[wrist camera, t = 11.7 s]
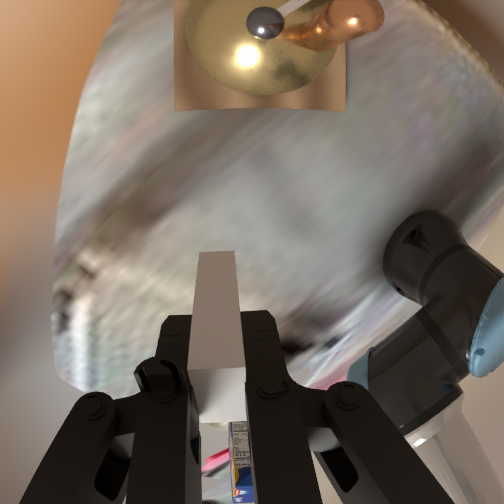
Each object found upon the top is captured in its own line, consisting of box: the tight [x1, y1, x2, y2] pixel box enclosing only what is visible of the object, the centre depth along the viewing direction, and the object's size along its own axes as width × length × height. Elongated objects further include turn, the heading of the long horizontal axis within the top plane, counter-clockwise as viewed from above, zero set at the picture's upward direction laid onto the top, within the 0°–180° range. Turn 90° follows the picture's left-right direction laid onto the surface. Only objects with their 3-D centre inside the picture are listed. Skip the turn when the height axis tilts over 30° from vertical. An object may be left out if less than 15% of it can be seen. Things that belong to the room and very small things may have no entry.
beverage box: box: [228, 421, 255, 503], centre depth 49 cm, size 7×11×22 cm, turn 175°
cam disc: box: [185, 0, 384, 95], centre depth 22 cm, size 17×17×14 cm
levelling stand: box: [174, 0, 346, 112], centre depth 28 cm, size 20×20×5 cm
